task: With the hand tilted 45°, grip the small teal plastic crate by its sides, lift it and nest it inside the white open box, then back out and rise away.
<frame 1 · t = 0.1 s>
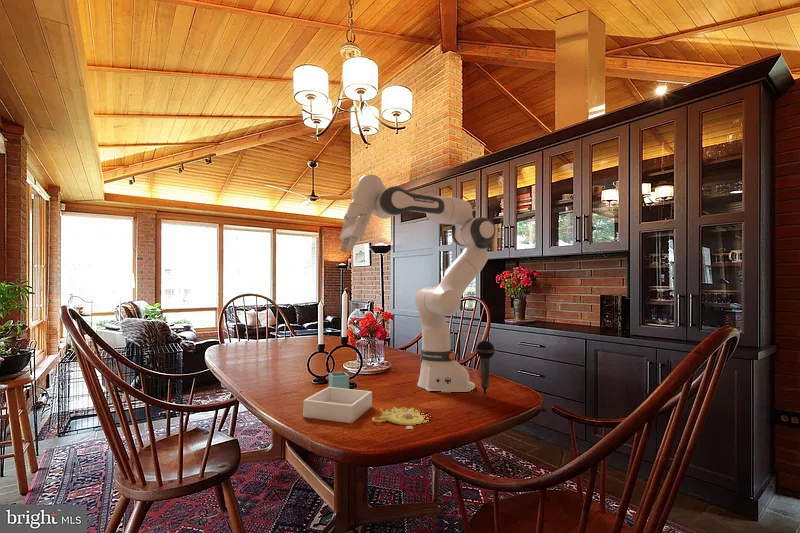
hand: (345, 250, 147), 52 cm above the table, tool tilted 20°, fingers open, 8 cm apart
microphone: (484, 397, 146), on the table
decorative object: (401, 419, 123), on the table
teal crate: (338, 395, 145), on the table
white open box: (338, 411, 127), on the table
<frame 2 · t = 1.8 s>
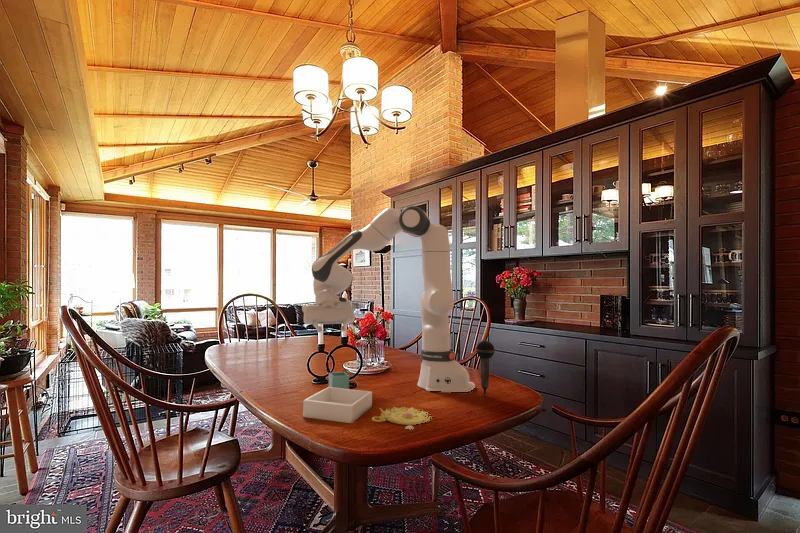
hand: (331, 331, 157), 21 cm above the table, tool tilted 45°, fingers open, 8 cm apart
nothing on the table moved.
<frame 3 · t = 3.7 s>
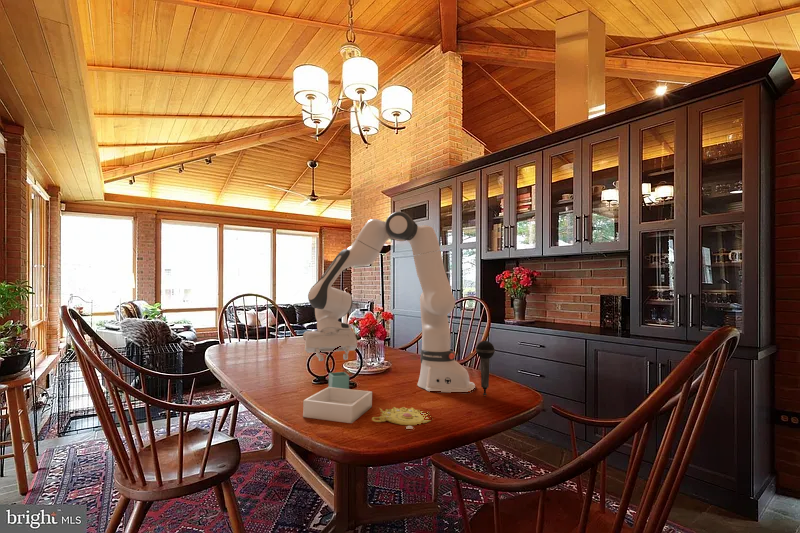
hand: (333, 359, 153), 11 cm above the table, tool tilted 45°, fingers open, 8 cm apart
nothing on the table moved.
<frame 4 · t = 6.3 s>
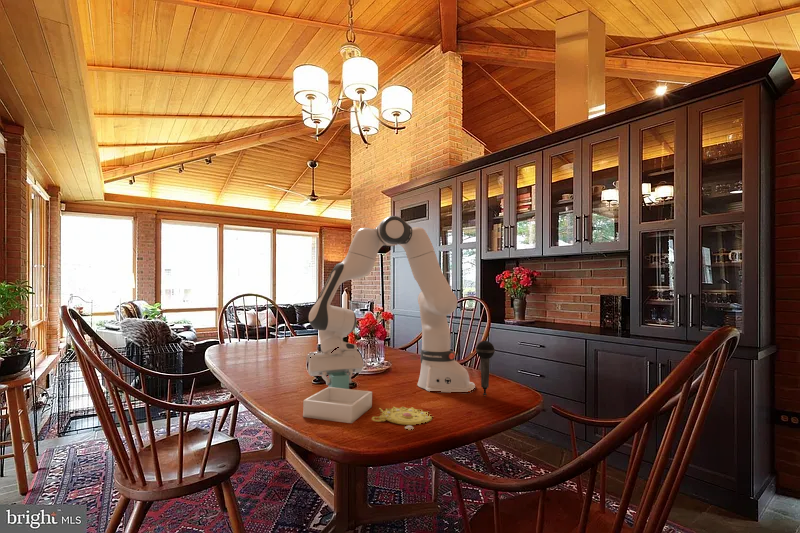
hand: (339, 383, 144), 4 cm above the table, tool tilted 45°, fingers closed on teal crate, 6 cm apart
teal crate: (338, 395, 145), on the table, touching gripper
everything else where it was.
when the fingers open (7 cm above the table, at t = 12.7 s): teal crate drops 1 cm, resting on white open box.
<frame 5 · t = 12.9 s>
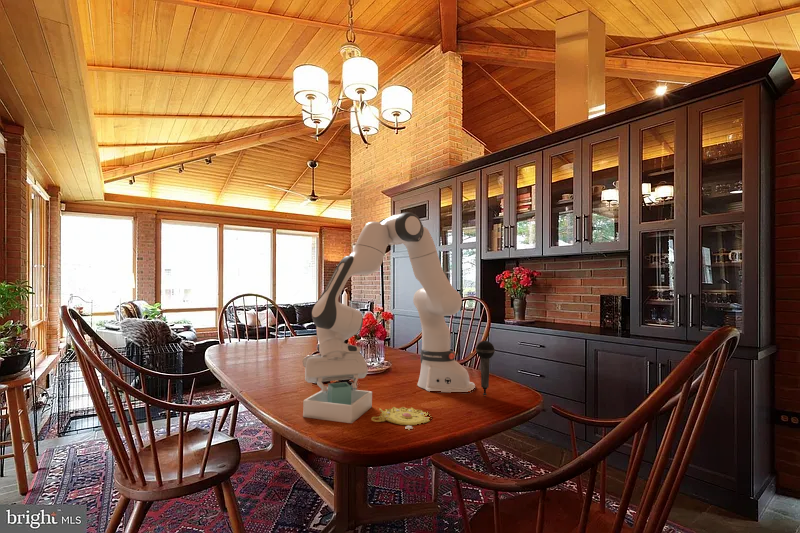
hand: (339, 390, 127), 7 cm above the table, tool tilted 45°, fingers open, 8 cm apart
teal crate: (339, 409, 127), point 1 cm above the table, touching white open box
everything else where it was.
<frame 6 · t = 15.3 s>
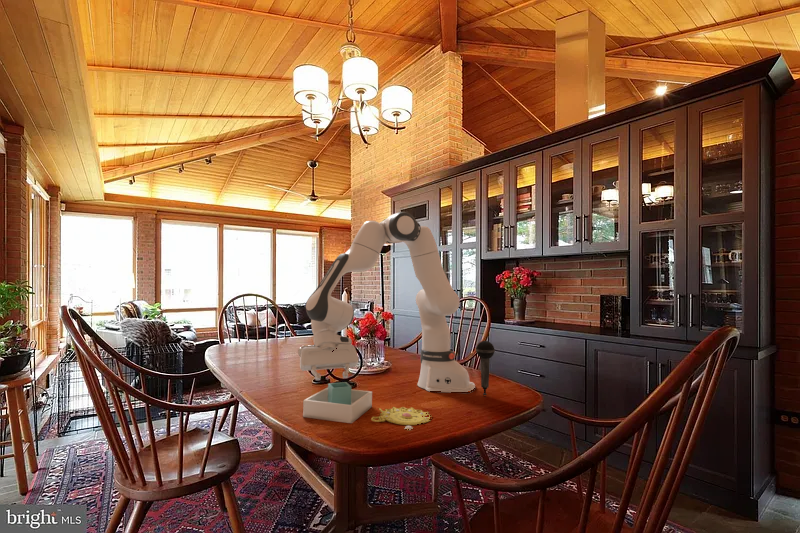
hand: (332, 378, 137), 8 cm above the table, tool tilted 45°, fingers open, 8 cm apart
nothing on the table moved.
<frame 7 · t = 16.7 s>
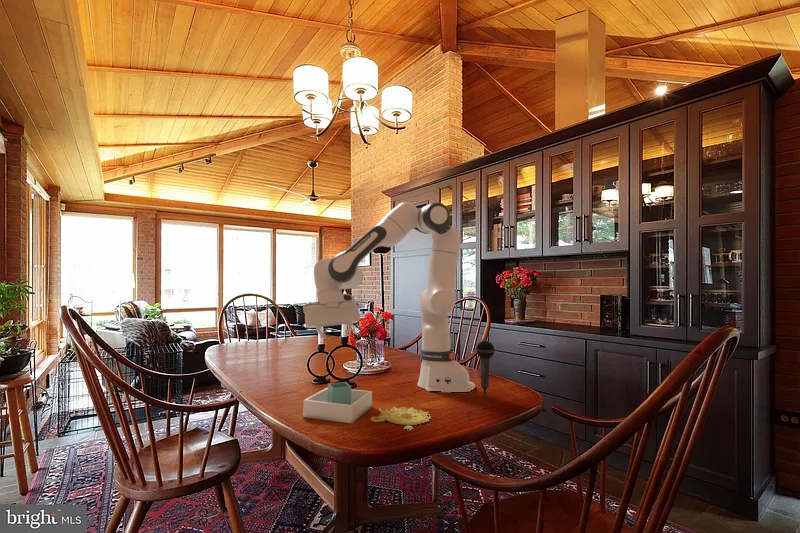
hand: (336, 336, 146), 21 cm above the table, tool tilted 20°, fingers open, 8 cm apart
nothing on the table moved.
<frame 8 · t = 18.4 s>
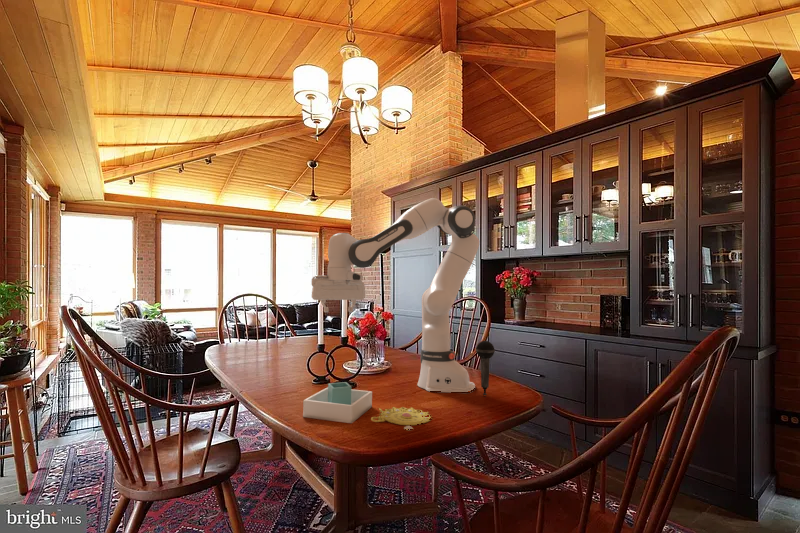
hand: (338, 311, 154), 29 cm above the table, tool pointing down, fingers open, 8 cm apart
nothing on the table moved.
at the end: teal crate inside the target area on the white open box (0.1 cm from its centre), point 0.8 cm above the white open box's base; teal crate tilted 0°; the gripper is holding nothing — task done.
